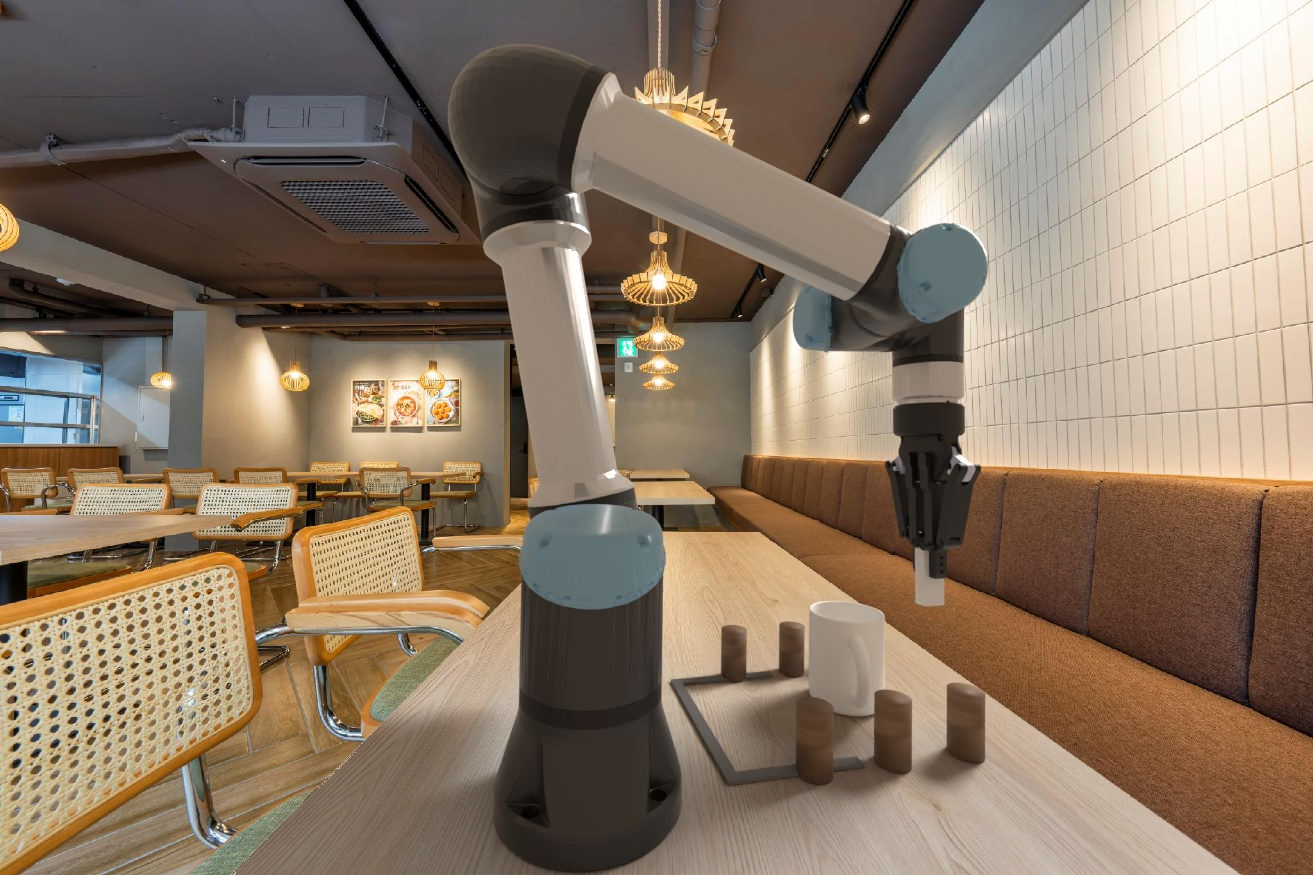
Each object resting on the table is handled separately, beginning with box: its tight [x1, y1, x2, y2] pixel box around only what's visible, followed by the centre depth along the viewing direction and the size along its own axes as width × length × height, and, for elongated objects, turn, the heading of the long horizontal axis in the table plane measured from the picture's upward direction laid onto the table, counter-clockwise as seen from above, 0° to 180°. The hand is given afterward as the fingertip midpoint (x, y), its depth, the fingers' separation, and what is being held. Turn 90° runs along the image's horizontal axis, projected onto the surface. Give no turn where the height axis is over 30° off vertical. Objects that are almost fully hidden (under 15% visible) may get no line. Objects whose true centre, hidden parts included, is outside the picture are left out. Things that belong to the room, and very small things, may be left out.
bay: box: [670, 670, 866, 786], centre depth 56 cm, size 13×20×1 cm, turn 13°
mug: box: [808, 600, 886, 718], centre depth 59 cm, size 12×8×10 cm
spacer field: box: [720, 620, 986, 786], centre depth 58 cm, size 19×23×6 cm
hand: (929, 603), depth 61 cm, fingers closed
